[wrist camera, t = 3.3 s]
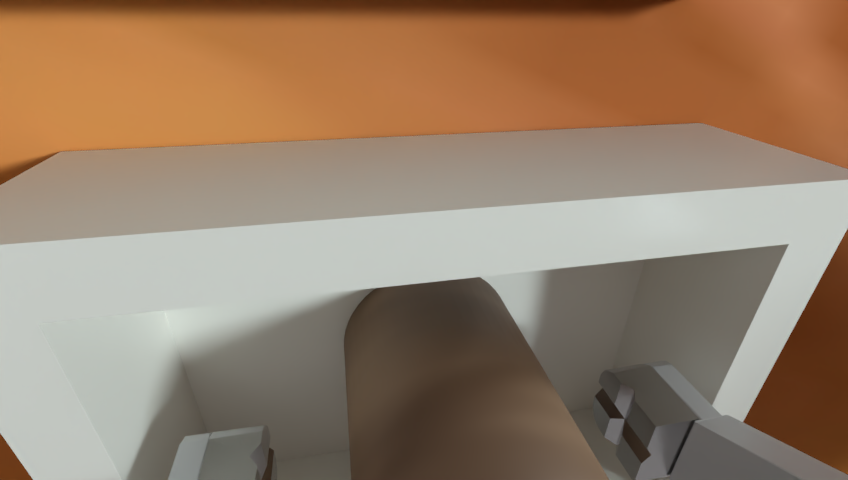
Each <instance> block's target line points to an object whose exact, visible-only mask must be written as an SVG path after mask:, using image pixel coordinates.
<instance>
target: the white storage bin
mask: <svg viewBox="0 0 848 480" xmlns="http://www.w3.org/2000/svg"><path fill="white" fill-rule="evenodd" d="M847 229H848V169H846V168H843V167H840V166H837V165H834V164H830V163H827V162H824V161H821V160H818V159H814V158H811V157H808V156H805V155H802V154H799V153H795V152H792V151H789V150H786V149H783V148H780V147H776V146H773V145H770V144H767V143H764V142H760V141H757V140H754V139H751V138H748V137H745V136H741V135H738V134H735V133H732V132H729V131H725V130H722V129H719V128H716V127H713V126H710V125H706V124H703V123H691V124H669V125H646V126H624V127H601V128H579V129H557V130H534V131H512V132H489V133H467V134H444V135H422V136H400V137H377V138H355V139H332V140H310V141H287V142H265V143H243V144H220V145H198V146H175V147H153V148H130V149H108V150H86V151H63V152H59V153H57V154H55V155H54V156H52V157H50V158H48V159H46V160H45V161H43V162H41V163H39V164H37V165H36V166H34V167H32V168H30V169H28V170H27V171H25V172H23V173H21V174H19V175H18V176H16V177H14V178H12V179H10V180H9V181H7V182H5V183H3V184H1V185H0V433H1V435H2V436H3V438H4V439H5V441H6V442H7V443H8V445H9V446H10V448H11V449H12V451H13V452H14V453H15V455H16V456H17V458H18V459H19V460H20V462H21V463H22V465H23V466H24V468H25V469H26V470H27V472H28V473H29V475H30V476H31V478H32V479H33V480H168V477H169V474H170V471H171V468H172V465H173V462H174V459H175V456H176V453H177V450H178V447H179V445H180V443H181V442H182V440H183V439H184V437H185V436H191V435H198V434H204V433H211V432H218V431H225V430H233V429H240V428H248V427H255V426H262V425H267V426H268V429H269V433H270V444H269V448H271V449H273V450H274V452H275V456H276V463H277V480H351V469H350V450H349V431H348V412H347V393H346V375H345V356H344V336H345V330H346V327H347V324H348V321H349V319H350V317H351V315H352V313H353V312H354V310H355V309H356V307H357V306H358V305H359V303H360V302H361V301H362V300H363V299H364V298H365V297H366V296H367V295H368V294H369V293H370V292H371V291H373V290H374V289H375V288H381V287H390V286H400V285H409V284H418V283H428V282H437V281H447V280H456V279H465V278H475V277H481V278H482V279H483V280H485V281H486V282H488V283H489V284H490V285H491V286H492V287H493V288H494V289H495V290H496V292H497V293H498V294H499V296H500V297H501V299H502V301H503V302H504V304H505V306H506V308H507V309H508V311H509V313H510V314H511V316H512V318H513V319H514V321H515V323H516V324H517V326H518V328H519V329H520V331H521V333H522V334H523V336H524V338H525V339H526V341H527V343H528V344H529V346H530V348H531V349H532V351H533V353H534V354H535V356H536V358H537V359H538V361H539V363H540V364H541V366H542V368H543V369H544V371H545V373H546V375H547V376H548V378H549V380H550V381H551V383H552V385H553V386H554V388H555V390H556V391H557V393H558V395H559V396H560V398H561V400H562V401H563V403H564V405H565V406H566V408H567V410H568V411H569V413H570V415H571V416H572V418H573V420H574V421H575V423H576V425H577V426H578V428H579V430H580V431H581V433H582V435H583V436H584V438H585V440H586V442H587V443H588V445H589V447H590V448H591V450H592V452H593V453H594V455H595V457H596V458H597V460H598V462H599V463H600V465H601V467H602V468H603V470H604V472H605V473H606V475H607V477H608V478H609V480H632V479H631V477H630V476H629V474H628V473H627V471H626V470H625V468H624V467H623V465H622V464H621V462H620V461H619V459H618V458H617V456H616V444H614V443H612V442H611V441H609V440H608V439H606V438H605V437H604V436H603V434H602V433H601V431H600V430H599V428H598V426H597V424H596V421H595V419H594V413H593V407H592V406H593V401H594V397H595V395H596V394H597V393H598V392H599V391H600V390H601V389H602V386H601V385H600V384H599V379H600V375H601V374H602V373H603V372H604V371H605V370H608V369H614V368H620V367H625V366H631V365H637V364H645V363H652V362H658V361H664V360H665V361H667V362H669V363H670V364H672V365H673V366H674V367H675V368H676V369H677V370H678V371H679V372H680V373H681V374H682V375H683V376H684V377H685V379H686V380H687V381H688V382H689V383H690V384H691V385H692V386H693V387H694V388H695V389H696V390H697V391H698V392H699V393H700V394H701V395H702V396H703V397H704V398H705V399H706V400H707V401H708V402H709V403H710V404H711V405H712V406H713V407H714V408H715V409H716V410H717V411H718V412H719V413H720V414H721V415H722V416H723V415H729V416H731V417H733V418H735V419H737V420H739V421H741V422H743V421H744V419H745V417H746V415H747V414H748V412H749V410H750V408H751V406H752V404H753V403H754V401H755V399H756V397H757V395H758V393H759V391H760V390H761V388H762V386H763V384H764V382H765V380H766V378H767V377H768V375H769V373H770V371H771V369H772V367H773V366H774V364H775V362H776V360H777V358H778V356H779V354H780V353H781V351H782V349H783V347H784V345H785V343H786V341H787V340H788V338H789V336H790V334H791V332H792V330H793V329H794V327H795V325H796V323H797V321H798V319H799V317H800V316H801V314H802V312H803V310H804V308H805V306H806V305H807V303H808V301H809V299H810V297H811V295H812V293H813V292H814V290H815V288H816V286H817V284H818V282H819V280H820V279H821V277H822V275H823V273H824V271H825V269H826V268H827V266H828V264H829V262H830V260H831V258H832V256H833V255H834V253H835V251H836V249H837V247H838V245H839V243H840V242H841V240H842V238H843V236H844V234H845V232H846V231H847ZM669 477H670V476H668V477H663V478H657V479H651V480H670V479H669Z"/></svg>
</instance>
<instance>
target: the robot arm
mask: <svg viewBox="0 0 848 480" xmlns="http://www.w3.org/2000/svg"><path fill="white" fill-rule="evenodd" d="M599 384H600V385H601V386H602V389H601V390H600V391H599V392H598V393H597V394H596V395H595V397H594V401H593V406H592V407H593V413H594V419H595V421H596V424H597V426H598V428H599V430H600V431H601V433H602V434H603V436H604V437H605V438H606V439H608V440H609V441H611V442H612V443H614V444H616V456H617V458H618V459H619V461H620V462H621V464H622V465H623V467H624V468H625V470H626V471H627V473H628V474H629V476H630V477H631V479H632V480H651V479H657V478H663V477H668V476H670V477H669V479H670V480H848V475H847V474H845V473H843V472H841V471H839V470H837V469H835V468H833V467H831V466H829V465H827V464H825V463H823V462H821V461H819V460H817V459H815V458H813V457H811V456H809V455H807V454H805V453H803V452H801V451H799V450H797V449H795V448H793V447H791V446H789V445H787V444H785V443H783V442H781V441H779V440H777V439H775V438H773V437H771V436H769V435H767V434H765V433H763V432H761V431H759V430H757V429H755V428H753V427H751V426H749V425H747V424H745V423H743V422H741V421H739V420H737V419H735V418H733V417H731V416H729V415H723V416H722V415H721V414H720V413H719V412H718V411H717V410H716V409H715V408H714V407H713V406H712V405H711V404H710V403H709V402H708V401H707V400H706V399H705V398H704V397H703V396H702V395H701V394H700V393H699V392H698V391H697V390H696V389H695V388H694V387H693V386H692V385H691V384H690V383H689V382H688V381H687V380H686V379H685V377H684V376H683V375H682V374H681V373H680V372H679V371H678V370H677V369H676V368H675V367H674V366H673V365H672V364H670V363H669V362H667V361H665V360H664V361H658V362H652V363H645V364H637V365H631V366H625V367H620V368H614V369H608V370H605V371H604V372H603V373H602V374H601V375H600V379H599ZM269 444H270V433H269V429H268V426H267V425H262V426H255V427H248V428H240V429H233V430H225V431H218V432H211V433H204V434H198V435H191V436H185V437H184V439H183V440H182V442H181V443H180V445H179V447H178V450H177V453H176V456H175V459H174V462H173V465H172V468H171V471H170V474H169V477H168V480H277V463H276V456H275V452H274V450H273V449H271V448H269Z"/></svg>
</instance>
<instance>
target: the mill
mask: <svg viewBox="0 0 848 480" xmlns="http://www.w3.org/2000/svg"><path fill="white" fill-rule="evenodd" d="M344 356H345V375H346V393H347V412H348V431H349V450H350V469H351V480H609V478H608V477H607V475H606V473H605V472H604V470H603V468H602V467H601V465H600V463H599V462H598V460H597V458H596V457H595V455H594V453H593V452H592V450H591V448H590V447H589V445H588V443H587V442H586V440H585V438H584V436H583V435H582V433H581V431H580V430H579V428H578V426H577V425H576V423H575V421H574V420H573V418H572V416H571V415H570V413H569V411H568V410H567V408H566V406H565V405H564V403H563V401H562V400H561V398H560V396H559V395H558V393H557V391H556V390H555V388H554V386H553V385H552V383H551V381H550V380H549V378H548V376H547V375H546V373H545V371H544V369H543V368H542V366H541V364H540V363H539V361H538V359H537V358H536V356H535V354H534V353H533V351H532V349H531V348H530V346H529V344H528V343H527V341H526V339H525V338H524V336H523V334H522V333H521V331H520V329H519V328H518V326H517V324H516V323H515V321H514V319H513V318H512V316H511V314H510V313H509V311H508V309H507V308H506V306H505V304H504V302H503V301H502V299H501V297H500V296H499V294H498V293H497V292H496V290H495V289H494V288H493V287H492V286H491V285H490V284H489V283H488V282H486V281H485V280H483V279H482V278H481V277H475V278H465V279H456V280H447V281H437V282H428V283H418V284H409V285H400V286H390V287H381V288H375V289H374V290H373V291H371V292H370V293H369V294H368V295H367V296H366V297H365V298H364V299H363V300H362V301H361V302H360V303H359V305H358V306H357V307H356V309H355V310H354V312H353V313H352V315H351V317H350V319H349V321H348V324H347V327H346V330H345V336H344Z"/></svg>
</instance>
